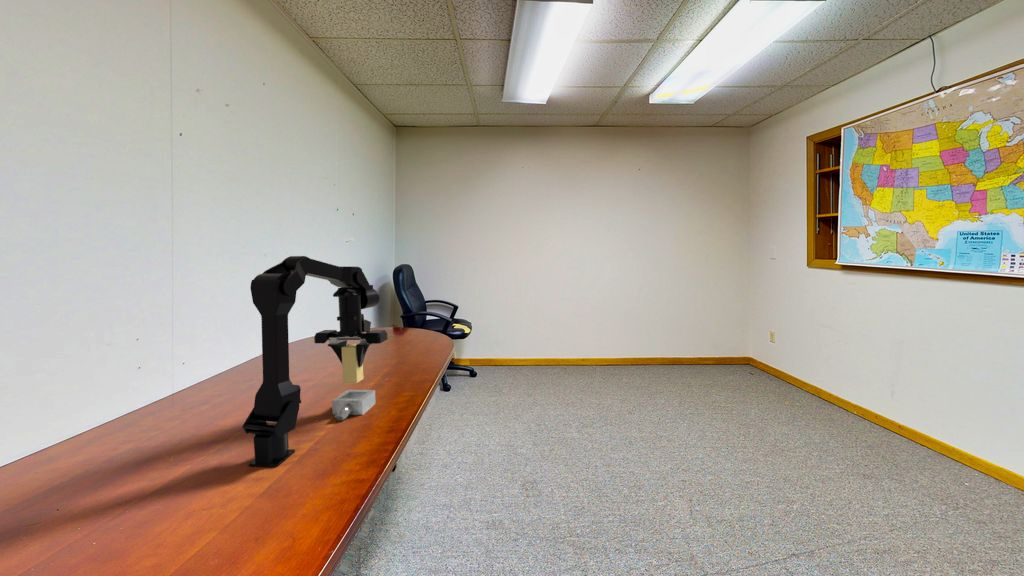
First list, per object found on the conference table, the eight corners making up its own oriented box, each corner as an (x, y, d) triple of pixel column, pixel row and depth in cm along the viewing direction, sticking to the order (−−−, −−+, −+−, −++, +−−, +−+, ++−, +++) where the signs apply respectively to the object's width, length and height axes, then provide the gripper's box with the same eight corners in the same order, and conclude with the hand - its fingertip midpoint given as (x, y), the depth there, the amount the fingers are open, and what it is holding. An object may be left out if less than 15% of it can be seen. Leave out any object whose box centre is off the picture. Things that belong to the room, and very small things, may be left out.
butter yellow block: (357, 383, 111) (355, 347, 110) (343, 382, 111) (341, 347, 111) (363, 378, 115) (362, 344, 114) (349, 378, 115) (348, 344, 115)
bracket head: (356, 421, 105) (355, 406, 105) (324, 420, 106) (324, 405, 106) (381, 398, 122) (380, 385, 122) (353, 398, 122) (353, 385, 122)
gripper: (393, 307, 119) (395, 359, 120) (332, 308, 120) (335, 359, 122) (378, 313, 108) (380, 370, 109) (311, 313, 109) (314, 369, 111)
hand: (352, 366), depth 113 cm, fingers closed on butter yellow block, 4 cm apart
